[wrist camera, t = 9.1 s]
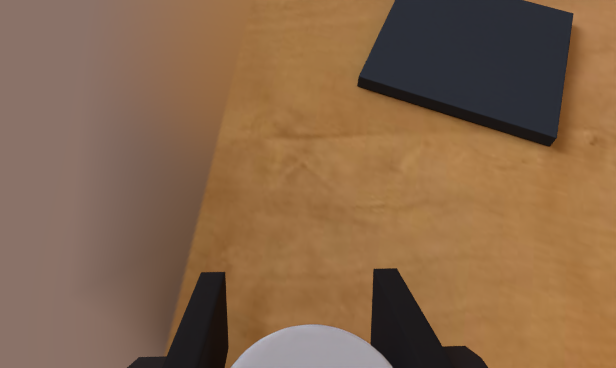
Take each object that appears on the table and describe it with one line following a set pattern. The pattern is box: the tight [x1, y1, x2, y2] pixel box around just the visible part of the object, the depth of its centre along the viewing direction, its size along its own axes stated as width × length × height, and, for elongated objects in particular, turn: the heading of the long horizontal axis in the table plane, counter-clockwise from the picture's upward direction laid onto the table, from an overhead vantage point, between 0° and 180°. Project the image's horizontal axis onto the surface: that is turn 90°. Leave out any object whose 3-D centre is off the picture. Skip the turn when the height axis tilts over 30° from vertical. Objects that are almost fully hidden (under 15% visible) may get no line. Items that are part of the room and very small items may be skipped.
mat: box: [357, 0, 573, 146], centre depth 35 cm, size 14×14×1 cm
